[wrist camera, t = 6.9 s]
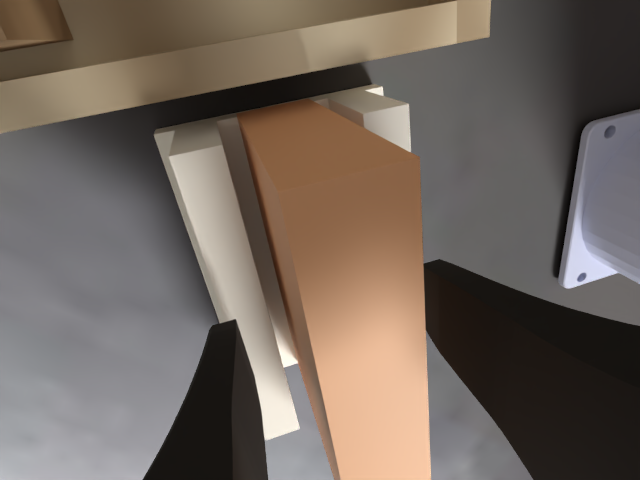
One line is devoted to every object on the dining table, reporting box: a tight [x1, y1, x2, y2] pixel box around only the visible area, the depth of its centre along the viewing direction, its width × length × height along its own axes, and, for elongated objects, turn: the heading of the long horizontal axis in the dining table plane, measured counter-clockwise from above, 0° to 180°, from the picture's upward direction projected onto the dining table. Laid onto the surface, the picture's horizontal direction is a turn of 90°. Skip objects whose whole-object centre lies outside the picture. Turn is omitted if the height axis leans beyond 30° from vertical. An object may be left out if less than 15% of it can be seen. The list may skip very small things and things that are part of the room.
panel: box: [236, 99, 431, 480], centre depth 11 cm, size 2×10×7 cm, turn 9°
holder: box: [154, 84, 411, 440], centre depth 13 cm, size 7×10×4 cm
